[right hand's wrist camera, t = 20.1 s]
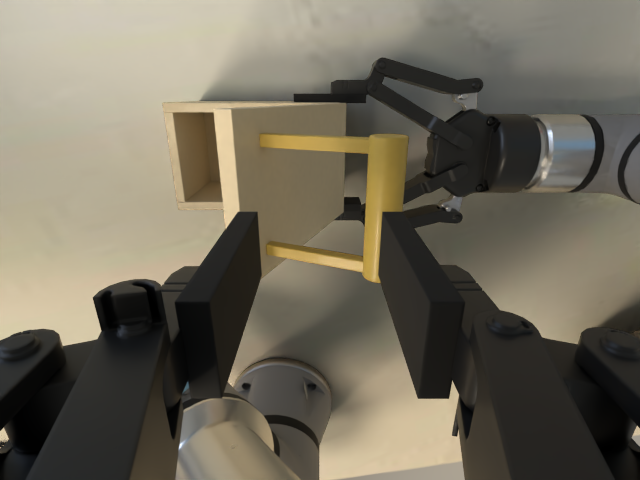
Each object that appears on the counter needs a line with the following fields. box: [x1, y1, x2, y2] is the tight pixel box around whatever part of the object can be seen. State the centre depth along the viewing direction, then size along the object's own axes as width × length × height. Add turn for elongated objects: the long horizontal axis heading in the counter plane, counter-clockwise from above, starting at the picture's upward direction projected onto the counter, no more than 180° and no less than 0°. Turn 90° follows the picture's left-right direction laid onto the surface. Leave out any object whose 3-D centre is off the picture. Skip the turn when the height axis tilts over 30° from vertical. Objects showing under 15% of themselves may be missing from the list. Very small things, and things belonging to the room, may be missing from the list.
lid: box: [213, 103, 409, 283], centre depth 24 cm, size 16×10×9 cm
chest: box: [162, 101, 339, 210], centre depth 38 cm, size 15×10×10 cm, turn 90°
